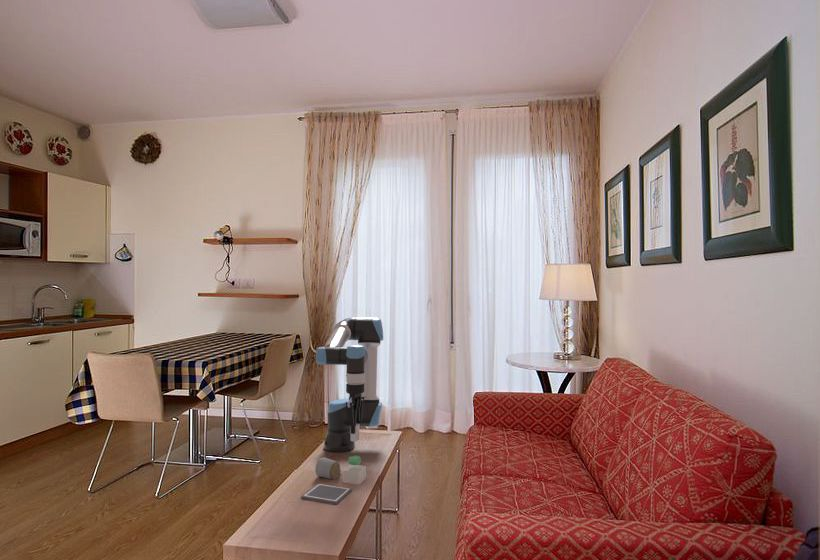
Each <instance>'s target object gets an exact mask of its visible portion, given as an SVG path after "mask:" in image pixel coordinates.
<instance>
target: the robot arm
mask: <svg viewBox="0 0 820 560" xmlns="http://www.w3.org/2000/svg"><path fill="white" fill-rule="evenodd" d="M348 341H357V344H351V345H348V346H347V347H346V346H345V344H346V343H347V342H348ZM382 341H384V327H383V322H382V319H380V318H379V317H373V316H372V317H370V316H369V317H361V316H360V317H354V316H352V317H347V318H345V319H343V320H341V321H339V322H337V323H336V324H335V325H334V326H333V328H332V330H331V336H330V338H329V339H328V340H327V343H326V344H325V346H319V347H317V348H316V349H315V362H316V364H317V365H324V366H328V365H329V366H331V365H332V366H333V365H335V366H337V365H338V366H339V365H341V366H342V365H343V366H344V365H345V366H346V370H345V371H346V372H345V373H346V374H345V377H346V378H345V379H346V381H345V382H346V384H345V389H346V390H345V391H346V392H345V393H346V394H348V395H349V396H348V398H347V397H346V398H339V399H335V400H332V401H330V402H329V403H328V406H327V411H326V412H327V433H326V435H325V436H326V437H325V438H324V439H325V440H324V442H323V449H324V450H326V451H327V452H330V453H342V452H343V453H344V452H348V451H351V450H353V449H355V447H356V444H355V443H356V442H358V441H360V427H363V428H364V427H366V428H371V427H373V428H374V427H378V426H379V424H380V422H381V417H382V412H383V411H382V409H383V403H382V402H381V401H380V398H379V397H378V396H377V386H378V384H377V380H378V379H377V378H378V376H377V373H378V347H379V346H380V345H381V342H382ZM344 346H345V347H344Z"/></svg>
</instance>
